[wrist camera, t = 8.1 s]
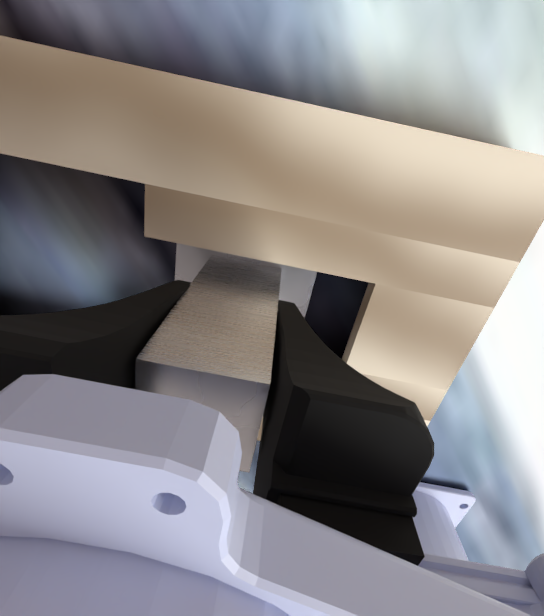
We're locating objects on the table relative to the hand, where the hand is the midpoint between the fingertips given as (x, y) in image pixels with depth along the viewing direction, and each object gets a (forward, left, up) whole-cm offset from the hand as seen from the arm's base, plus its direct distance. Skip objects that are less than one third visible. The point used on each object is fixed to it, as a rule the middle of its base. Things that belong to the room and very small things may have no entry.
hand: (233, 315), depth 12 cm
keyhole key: (0, 0, -4) cm, 4 cm away
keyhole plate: (0, +3, -4) cm, 5 cm away
